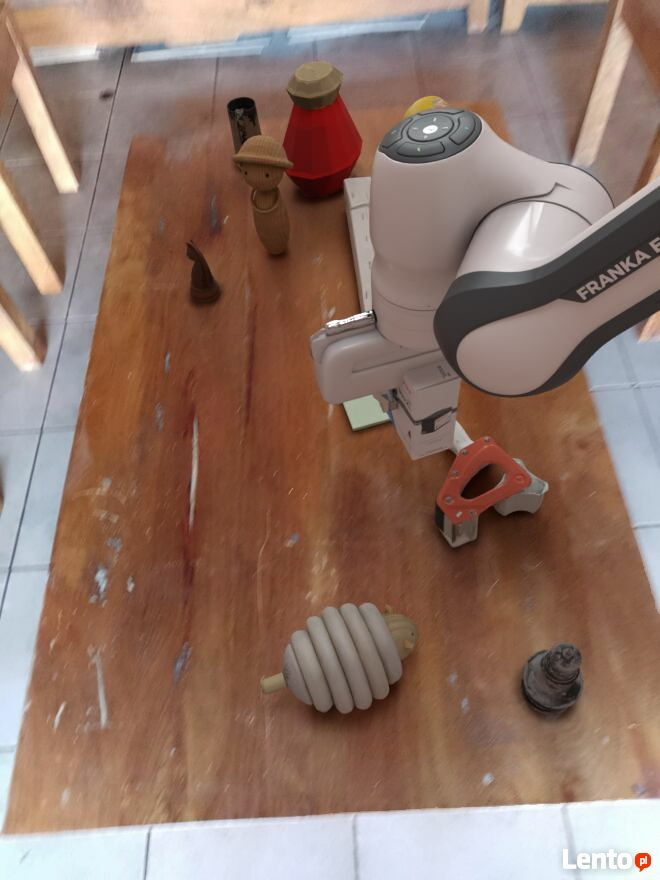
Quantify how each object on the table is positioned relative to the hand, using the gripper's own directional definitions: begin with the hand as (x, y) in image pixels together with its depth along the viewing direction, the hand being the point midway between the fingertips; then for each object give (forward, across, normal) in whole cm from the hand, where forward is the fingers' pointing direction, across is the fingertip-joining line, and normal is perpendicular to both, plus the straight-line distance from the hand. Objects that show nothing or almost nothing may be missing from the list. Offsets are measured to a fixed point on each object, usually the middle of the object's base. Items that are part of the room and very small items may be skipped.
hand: (417, 397), depth 73 cm
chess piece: (+20, -18, +45) cm, 52 cm away
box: (+20, +16, +38) cm, 46 cm away
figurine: (+20, -5, +51) cm, 55 cm away
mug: (+20, -4, +76) cm, 78 cm away
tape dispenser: (+20, +8, 0) cm, 21 cm away
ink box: (+5, 0, 0) cm, 5 cm away
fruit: (+20, +27, +66) cm, 74 cm away
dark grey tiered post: (+20, +5, -26) cm, 33 cm away
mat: (+20, +3, +17) cm, 26 cm away
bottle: (+20, +7, +66) cm, 69 cm away
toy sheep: (+20, -15, -18) cm, 31 cm away
